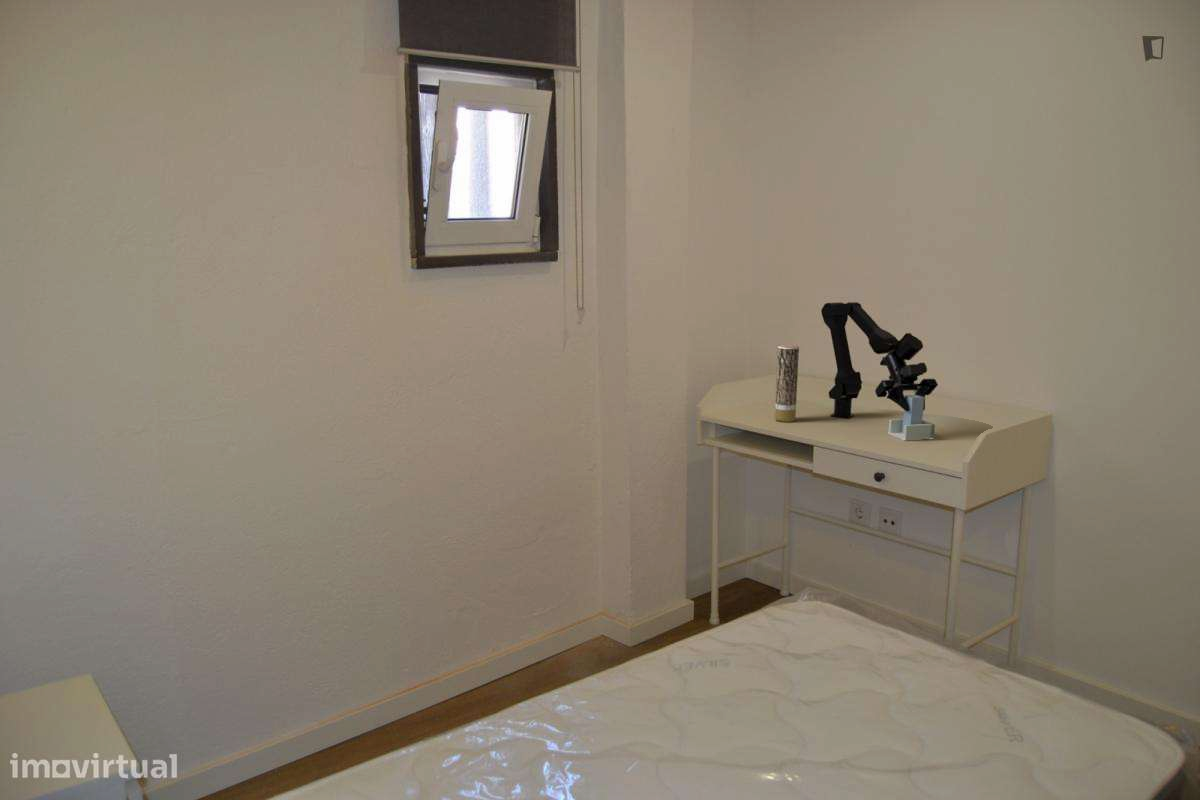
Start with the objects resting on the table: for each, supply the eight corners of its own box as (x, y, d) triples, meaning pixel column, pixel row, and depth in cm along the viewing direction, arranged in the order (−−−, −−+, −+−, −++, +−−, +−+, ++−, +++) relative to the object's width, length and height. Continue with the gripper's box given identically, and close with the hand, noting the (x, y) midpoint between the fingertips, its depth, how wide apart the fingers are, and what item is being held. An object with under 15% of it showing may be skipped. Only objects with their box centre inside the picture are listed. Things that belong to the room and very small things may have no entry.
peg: (902, 433, 271) (905, 395, 269) (913, 432, 272) (916, 395, 269) (909, 436, 267) (912, 397, 265) (921, 435, 268) (924, 397, 266)
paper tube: (796, 419, 293) (800, 345, 289) (794, 423, 287) (797, 347, 282) (776, 417, 296) (779, 344, 291) (773, 421, 289) (776, 346, 285)
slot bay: (904, 440, 264) (905, 425, 263) (887, 433, 273) (888, 419, 272) (933, 439, 266) (935, 424, 265) (915, 432, 275) (917, 418, 274)
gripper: (882, 354, 266) (900, 396, 258) (936, 352, 271) (955, 394, 262) (867, 375, 275) (884, 417, 267) (920, 373, 280) (937, 414, 271)
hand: (915, 410), depth 267 cm, fingers open, 5 cm apart
